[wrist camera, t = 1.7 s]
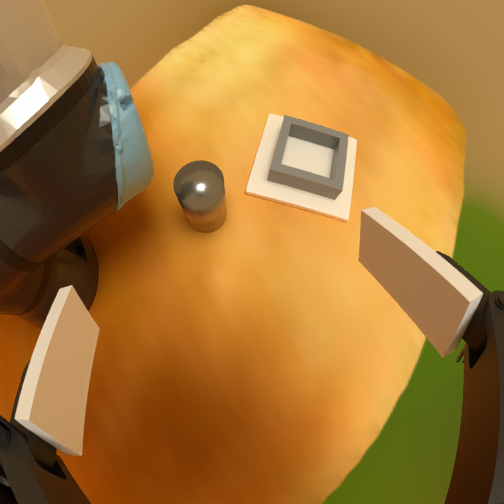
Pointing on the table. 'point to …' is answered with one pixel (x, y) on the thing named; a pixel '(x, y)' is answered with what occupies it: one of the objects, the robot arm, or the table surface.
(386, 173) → the table surface
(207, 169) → the glossy bronze cylinder
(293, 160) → the square socket
